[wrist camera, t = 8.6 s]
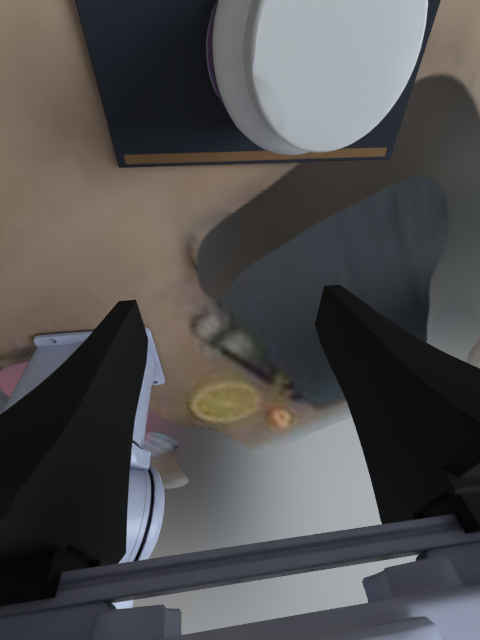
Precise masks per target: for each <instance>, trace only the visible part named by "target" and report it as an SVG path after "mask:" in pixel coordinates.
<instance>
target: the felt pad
mask: <svg viewBox="0 0 480 640" xmlns="http://www.w3.org/2000/svg"><path fill="white" fill-rule="evenodd" d="M75 1H76V5H77V9H78V12H79V16H80V20H81V24H82V28H83V31H84V35H85V39H86V43H87V47H88V50H89V54H90V58H91V62H92V66H93V70H94V73H95V77H96V81H97V85H98V89H99V92H100V96H101V100H102V104H103V108H104V111H105V115H106V119H107V123H108V127H109V130H110V134H111V138H112V142H113V146H114V150H115V153H116V157H117V161H118V165H119V167H120V168H121V167H153V166H185V165H217V164H249V163H281V162H310V161H311V162H313V161H344V160H375V159H390V157H391V154H392V151H393V147H394V144H395V141H396V138H397V135H398V131H399V129H400V126H401V122H402V119H403V116H404V113H405V110H406V107H407V104H408V100H409V97H410V94H411V91H412V88H413V85H414V82H415V79H416V75H417V72H418V69H419V66H420V63H421V60H422V57H423V53H424V50H425V47H426V44H427V41H428V38H429V35H430V32H431V28H432V25H433V22H434V19H435V16H436V13H437V10H438V6H439V3H440V0H428V9H427V19H426V26H425V31H424V37H423V41H422V45H421V49H420V52H419V55H418V59H417V62H416V64H415V67H414V69H413V72H412V74H411V76H410V78H409V80H408V82H407V85H406V86H405V88H404V90H403V92H402V93H401V95H400V97H399V98H398V99H397V101H396V103H395V104H394V106H393V107H392V108H391V110H390V111H389V112H388V113H387V115H386V116H385V117H384V118H383V119H382V120H381V121H380V122H379V124H378V125H377V126H375V127H374V128H373V129H372V130H371V131H370V132H369V133H367V134H366V135H365V136H363V137H362V138H360V139H359V140H357V141H355V142H354V143H352V144H350V145H348V146H346V147H343V148H341V149H338V150H334V151H329V152H320V153H316V152H308V153H304V154H299V155H283V154H276V153H273V152H270V151H268V150H265V149H263V148H261V147H259V146H258V145H256V144H255V143H253V142H252V141H251V140H250V139H249V138H247V137H246V136H245V135H244V134H243V133H242V132H241V131H240V130H239V129H238V128H237V127H236V125H235V123H234V122H233V121H232V119H231V117H230V115H229V114H228V112H227V110H226V108H225V107H224V106H223V104H222V103H221V101H220V100H219V98H218V96H217V94H216V92H215V90H214V87H213V85H212V82H211V79H210V75H209V71H208V65H207V55H206V41H207V32H208V26H209V21H210V18H211V13H212V10H213V8H214V5H215V3H216V1H217V0H75Z"/></svg>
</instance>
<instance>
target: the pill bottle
mask: <svg viewBox="0 0 480 640" xmlns="http://www.w3.org/2000/svg"><path fill="white" fill-rule="evenodd" d="M427 9H428V0H217V1H216V3H215V5H214V8H213V10H212V13H211V18H210V21H209V26H208V32H207V41H206V55H207V65H208V71H209V75H210V79H211V82H212V85H213V87H214V90H215V92H216V94H217V96H218V98H219V100H220V101H221V103H222V104H223V106H224V107H225V108H226V110H227V112H228V114H229V115H230V117H231V119H232V121H233V122H234V123H235V125H236V127H237V128H238V129H239V130H240V131H241V132H242V133H243V134H244V135H245V136H246V137H247V138H249V139H250V140H251V141H252V142H253V143H255V144H256V145H258V146H259V147H261V148H263V149H265V150H268V151H270V152H273V153H276V154H283V155H299V154H304V153H308V152H316V153H320V152H329V151H334V150H338V149H341V148H343V147H346V146H348V145H350V144H352V143H354V142H355V141H357V140H359V139H360V138H362V137H363V136H365V135H366V134H367V133H369V132H370V131H371V130H372V129H373V128H374V127H375V126H377V125H378V124H379V122H380V121H381V120H382V119H383V118H384V117H385V116H386V115H387V113H388V112H389V111H390V110H391V108H392V107H393V106H394V104H395V103H396V101H397V99H398V98H399V97H400V95H401V93H402V92H403V90H404V88H405V86H406V85H407V82H408V80H409V78H410V76H411V74H412V72H413V69H414V67H415V64H416V62H417V59H418V55H419V52H420V49H421V45H422V41H423V37H424V31H425V26H426V19H427Z"/></svg>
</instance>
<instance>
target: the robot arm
mask: <svg viewBox="0 0 480 640" xmlns="http://www.w3.org/2000/svg"><path fill="white" fill-rule="evenodd" d="M315 326H316V329H317V333H318V336H319V339H320V343H321V346H322V348H323V350H324V353H325V355H326V357H327V359H328V361H329V363H330V366H331V368H332V370H333V372H334V374H335V376H336V378H337V381H338V383H339V385H340V387H341V389H342V391H343V394H344V396H345V398H346V401H347V403H348V406H349V409H350V412H351V415H352V418H353V421H354V423H355V427H356V430H357V433H358V436H359V440H360V443H361V446H362V449H363V453H364V456H365V460H366V463H367V467H368V470H369V474H370V478H371V482H372V486H373V490H374V493H375V498H376V502H377V505H378V510H379V514H380V519H381V522H382V525H376V526H368V527H362V528H355V529H349V530H341V531H335V532H328V533H321V534H314V535H308V536H301V537H294V538H288V539H281V540H274V541H267V542H261V543H254V544H247V545H240V546H234V547H227V548H220V549H213V550H207V551H200V552H193V553H187V554H180V555H173V556H166V557H159V558H153V559H148V558H149V556H150V555H151V553H152V551H153V549H154V547H155V544H156V542H157V539H158V536H159V533H160V529H161V524H162V520H163V514H164V503H165V495H164V486H163V483H162V480H161V477H160V474H159V472H158V470H157V469H156V468H155V467H153V466H149V464H150V456H151V452H150V451H145V450H143V444H144V437H145V429H146V422H147V415H148V408H149V400H150V393H151V386H152V385H161V384H163V383H164V382H165V377H164V374H163V371H162V367H161V364H160V361H159V357H158V354H157V351H156V348H155V344H154V341H153V338H152V334H151V331H150V329H149V328H147V327H144V324H143V321H142V317H141V314H140V311H139V308H138V305H137V302H136V300H128V301H119V302H118V303H117V304H116V305H115V306H114V308H113V309H112V310H111V311H110V312H109V313H108V315H107V316H106V317H105V318H104V319H103V320H102V322H101V323H100V324H99V325H98V326H97V328H96V329H95V330H94V331H85V332H72V333H59V334H46V335H37V336H35V338H34V340H33V341H34V343H35V345H36V346H37V349H36V351H35V353H34V355H33V356H32V358H31V360H30V362H29V364H28V366H27V367H26V369H25V371H24V373H23V375H22V376H21V378H20V380H19V382H18V384H17V386H16V387H15V389H14V391H13V393H12V395H11V396H10V398H9V400H8V402H7V404H6V406H5V408H4V411H3V413H2V414H0V640H480V368H477V367H475V366H473V365H470V364H468V363H466V362H464V361H461V360H459V359H457V358H455V357H453V356H451V355H449V354H446V353H445V352H443V351H441V350H439V349H437V348H435V347H433V346H431V345H430V344H428V343H426V342H424V341H422V340H420V339H419V338H417V337H415V336H413V335H412V334H410V333H408V332H407V331H405V330H404V329H402V328H401V327H399V326H397V325H396V324H394V323H393V322H391V321H390V320H388V319H387V318H385V317H384V316H382V315H381V314H379V313H378V312H377V311H375V310H374V309H372V308H371V307H370V306H368V305H367V304H366V303H364V302H363V301H361V300H360V299H359V298H357V297H356V296H355V295H353V294H352V293H350V292H349V291H348V290H346V289H345V288H343V287H342V286H340V285H331V286H324V289H323V293H322V297H321V301H320V306H319V310H318V314H317V318H316V322H315ZM53 339H54V340H53ZM412 555H418V556H417V558H416V561H415V562H410V563H406V564H401V565H396V566H392V567H387V568H385V569H384V571H382V572H380V573H377V574H375V575H372V576H369V577H366V578H364V579H363V581H362V583H363V586H364V589H365V592H366V595H367V598H368V603H365V604H359V605H353V606H347V607H341V608H336V609H330V610H324V611H318V612H312V613H306V614H300V615H294V616H289V617H283V618H277V619H272V620H266V621H260V622H255V623H248V624H243V625H237V626H231V627H226V628H220V629H214V630H209V631H204V632H197V633H192V634H186V635H182V634H181V613H182V612H181V611H180V609H167V608H166V607H165V606H164V605H154V606H145V607H135V608H132V606H133V601H134V600H136V599H142V598H149V597H155V596H161V595H168V594H173V593H180V592H186V591H193V590H199V589H205V588H211V587H217V586H224V585H230V584H236V583H243V582H249V581H255V580H262V579H267V578H274V577H281V576H287V575H293V574H299V573H305V572H312V571H318V570H325V569H331V568H337V567H343V566H349V565H356V564H362V563H368V562H374V561H381V560H387V559H394V558H399V557H406V556H412Z"/></svg>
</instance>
